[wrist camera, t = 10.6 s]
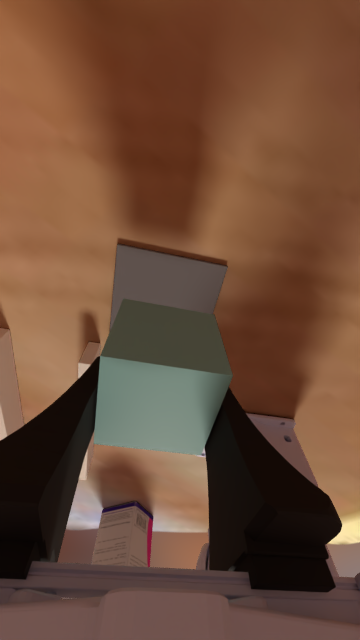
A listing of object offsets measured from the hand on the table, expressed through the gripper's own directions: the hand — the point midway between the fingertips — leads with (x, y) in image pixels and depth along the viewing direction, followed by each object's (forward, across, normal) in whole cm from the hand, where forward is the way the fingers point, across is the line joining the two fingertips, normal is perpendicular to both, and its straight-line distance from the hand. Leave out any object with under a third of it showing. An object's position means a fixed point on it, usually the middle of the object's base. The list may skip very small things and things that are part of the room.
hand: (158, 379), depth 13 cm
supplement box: (+9, -1, +36) cm, 37 cm away
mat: (+9, 0, 0) cm, 9 cm away
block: (+2, 0, 0) cm, 2 cm away
